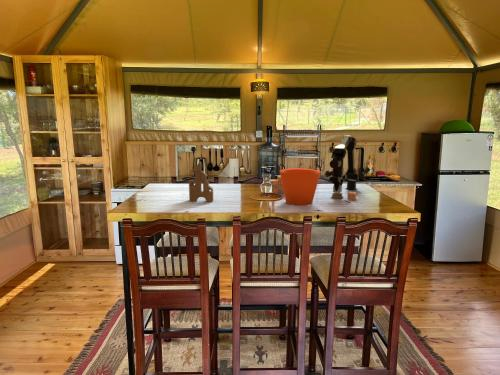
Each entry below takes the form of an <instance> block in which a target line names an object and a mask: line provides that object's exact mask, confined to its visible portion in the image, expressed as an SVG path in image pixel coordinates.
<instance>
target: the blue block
mask: <svg viewBox="0 0 500 375" xmlns="http://www.w3.org/2000/svg"><path fill="white" fill-rule="evenodd" d="M332 186H333V187H332V192H333V193H334V192H336V193H342V192H343V184H342V185H340V186H339V188H338V190H337V191H335V186H334V184H333V185H332Z"/></svg>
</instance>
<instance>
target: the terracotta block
mask: <svg viewBox="0 0 500 375" xmlns="http://www.w3.org/2000/svg"><path fill="white" fill-rule="evenodd" d="M347 199H348V200H347V201H356V200H357V192H356V191H349V192H347Z"/></svg>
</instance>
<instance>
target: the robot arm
mask: <svg viewBox="0 0 500 375" xmlns="http://www.w3.org/2000/svg"><path fill="white" fill-rule="evenodd" d="M357 143H358V140H357V138H356V137H353V136H352V135H343V136H342V139H341V142H340V143H339V144H338V145H336V146H335V147H334V148H333V149H332V152H331V156H330V157H331V160H330V162H329V167H330V168H331V169H332V170H330V171H329V170H325V172H324V176H325V177H326V178H329V179H328V181H329V182H331V183H332V184H333V185H334V186H335V191H337V190H338V188H339V186H340V185H342V186H343V184H344V182H347V184H346V187H345V190H349V189H350V190H349V191H355V189H356V190H358V188H357V183H358V182H359V181H360V180H359V179H360V178H359V173H358V170H357V169H356V167H355V148H356V146H357ZM346 156H347V170H346V172H345V173H344V171H345V168H344V159H345V158H346Z"/></svg>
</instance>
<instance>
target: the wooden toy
mask: <svg viewBox="0 0 500 375" xmlns="http://www.w3.org/2000/svg"><path fill="white" fill-rule="evenodd" d="M190 172H194V174H195V175H194V178H195V181H194V180H193V179H191V180H189V181H188V192H189V193H188V197H189V201H190V203H197V202H198V200H199V198H203V199H205V201H206V203H213V202H214V189H213V187H212V186H211V185H210V182H209V181H208V180H207V174H206V172H205V171H204V170H202V161H199V162H198V163H197V164H196V165H195V166H194V167H193V168H192V169H191V171H190Z"/></svg>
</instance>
